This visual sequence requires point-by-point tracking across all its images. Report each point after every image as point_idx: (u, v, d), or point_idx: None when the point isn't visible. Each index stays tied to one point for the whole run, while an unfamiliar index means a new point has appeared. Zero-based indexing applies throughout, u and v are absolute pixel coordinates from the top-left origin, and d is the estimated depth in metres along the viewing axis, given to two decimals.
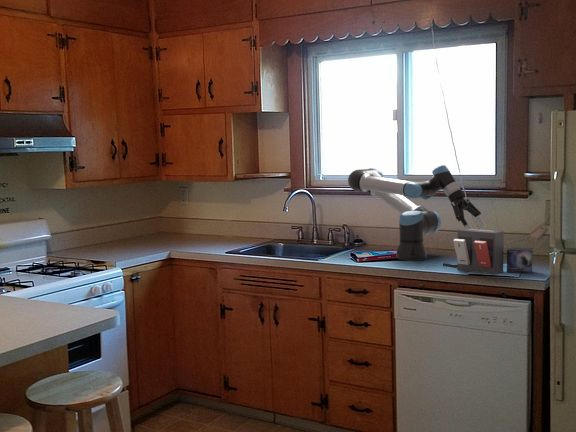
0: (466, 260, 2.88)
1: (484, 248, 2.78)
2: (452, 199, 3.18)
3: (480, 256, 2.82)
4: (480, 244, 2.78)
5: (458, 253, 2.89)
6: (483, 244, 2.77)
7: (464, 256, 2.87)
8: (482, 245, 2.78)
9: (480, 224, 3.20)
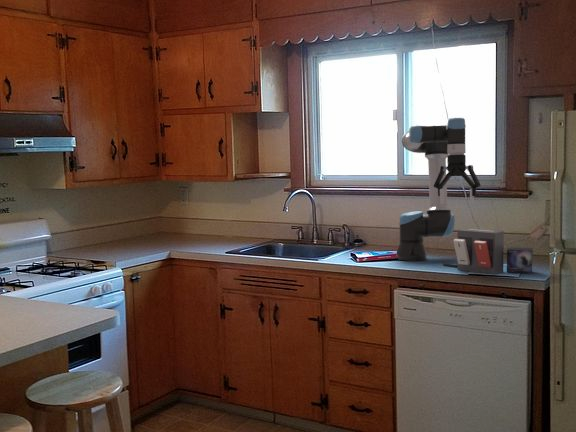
0: (466, 260, 2.88)
1: (484, 248, 2.78)
2: None
3: (480, 256, 2.82)
4: (480, 244, 2.78)
5: (458, 253, 2.89)
6: (483, 244, 2.77)
7: (464, 256, 2.87)
8: (482, 245, 2.78)
9: None
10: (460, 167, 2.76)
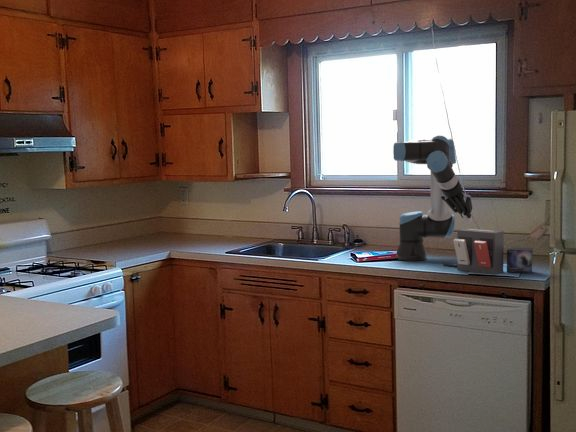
0: (466, 260, 2.88)
1: (484, 248, 2.78)
2: None
3: (480, 256, 2.82)
4: (480, 244, 2.78)
5: (458, 253, 2.89)
6: (483, 244, 2.77)
7: (464, 256, 2.87)
8: (482, 245, 2.78)
9: None
10: (458, 194, 2.59)
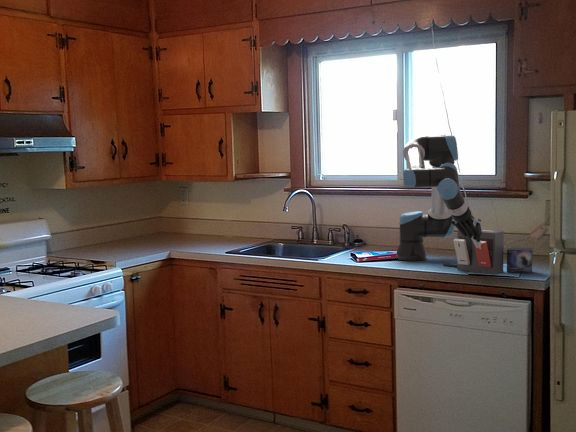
0: (466, 260, 2.88)
1: (484, 248, 2.78)
2: None
3: (480, 256, 2.82)
4: None
5: (458, 253, 2.89)
6: (483, 244, 2.77)
7: (464, 256, 2.87)
8: (482, 245, 2.78)
9: None
10: (468, 220, 2.65)
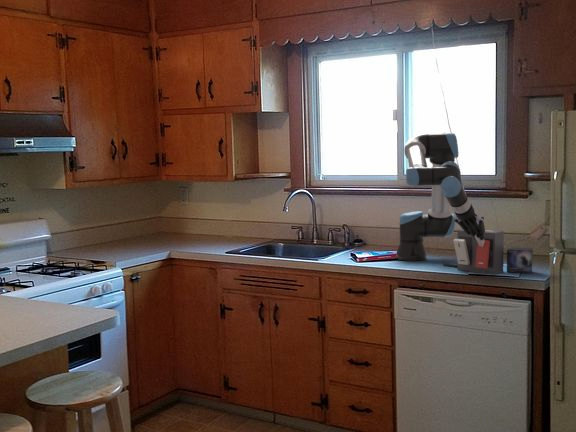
0: (466, 260, 2.88)
1: (486, 246, 2.79)
2: None
3: (479, 255, 2.81)
4: None
5: (458, 253, 2.89)
6: (486, 241, 2.79)
7: (464, 256, 2.87)
8: (485, 243, 2.80)
9: None
10: (471, 218, 2.67)
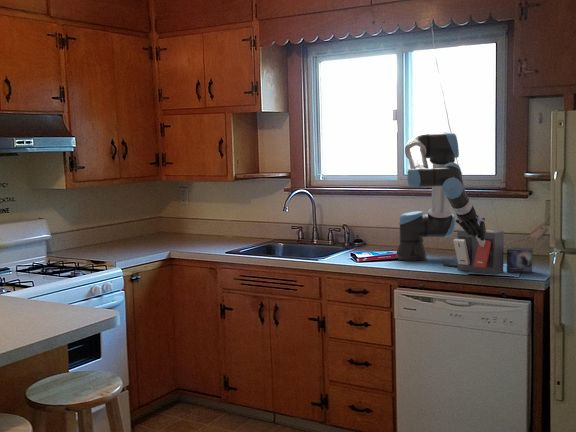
0: (466, 260, 2.88)
1: (487, 246, 2.80)
2: None
3: (479, 254, 2.81)
4: (485, 242, 2.81)
5: (458, 253, 2.89)
6: (488, 242, 2.80)
7: (464, 256, 2.87)
8: (486, 243, 2.81)
9: None
10: (472, 219, 2.68)
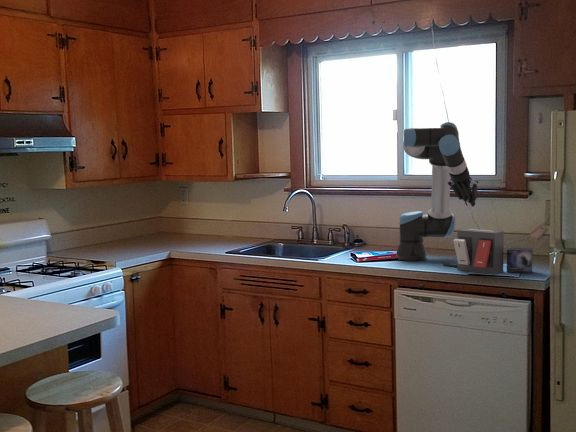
0: (466, 260, 2.88)
1: (487, 246, 2.80)
2: None
3: (479, 254, 2.81)
4: (485, 242, 2.81)
5: (458, 253, 2.89)
6: (488, 242, 2.80)
7: (464, 256, 2.87)
8: (486, 243, 2.81)
9: None
10: (465, 180, 2.63)
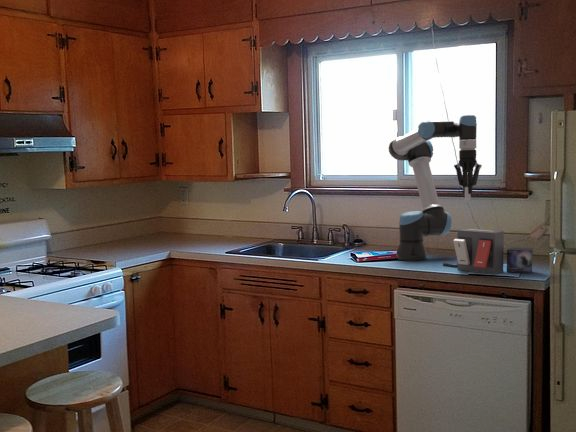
0: (466, 260, 2.88)
1: (487, 246, 2.80)
2: None
3: (479, 254, 2.81)
4: (485, 242, 2.81)
5: (458, 253, 2.89)
6: (488, 242, 2.80)
7: (464, 256, 2.87)
8: (486, 243, 2.81)
9: None
10: (471, 160, 2.95)
